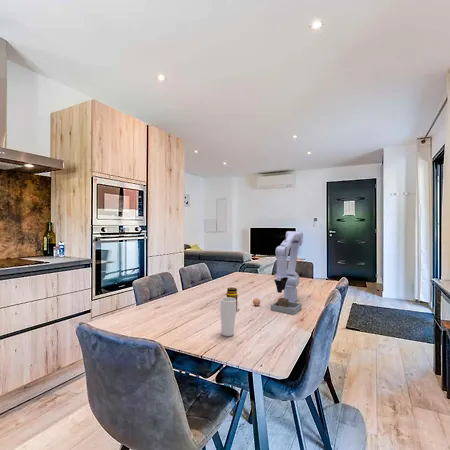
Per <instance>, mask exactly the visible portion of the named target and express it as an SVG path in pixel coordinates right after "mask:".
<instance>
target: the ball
mask: <svg viewBox="0 0 450 450" xmlns="http://www.w3.org/2000/svg"><path fill="white" fill-rule="evenodd" d="M252 304H253V305H254V306H256V307H257V306H260V305H261V300H260V298H259V297H254V299H253V300H252Z"/></svg>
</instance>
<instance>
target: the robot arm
mask: <svg viewBox="0 0 450 450" xmlns="http://www.w3.org/2000/svg"><path fill="white" fill-rule="evenodd" d="M303 241H304V234H303V231H295V230H294V231H290V230H288V231H286V232H285V239H284V240H283V241H282V242H281V243H280V245H278V246H276V248H275V252H274V253H275V259H276V273H275V274H274V277H276V278H275V279H274V283H275V287H276V291H277V293H280V294H282V293H283V298H286V299H288V301H289V302H294V303H297V302H298V301H299V298H298V288H297V287H298V286H299V283H300V275H299V274H298V273H297V272H296V269H297V263H298V262H297V260H298V254H299V253H298V252H299V249H300V247H301V246H302V245H303ZM288 256H289V258H288Z"/></svg>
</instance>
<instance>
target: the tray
mask: <svg viewBox="0 0 450 450" xmlns="http://www.w3.org/2000/svg"><path fill="white" fill-rule="evenodd" d="M302 309H303V308H302V303H298V302H289V301H288V307H287V308H286V307H281V306H278V300H277V301H276V302H274V303H272V304H270V311H272V312H277V313H282V314H287V315H291V316H295V315H296V314H298V312H300V311H301V310H302Z"/></svg>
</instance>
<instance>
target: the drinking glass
mask: <svg viewBox="0 0 450 450" xmlns="http://www.w3.org/2000/svg"><path fill="white" fill-rule="evenodd" d="M219 311H220V325H221V328H220V329H221V335H222V336H223V337H232V336H234V334H235V324H236V323H235V322H236V314H237V311H236V299H235V298H230V297H222V298H220V309H219Z"/></svg>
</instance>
